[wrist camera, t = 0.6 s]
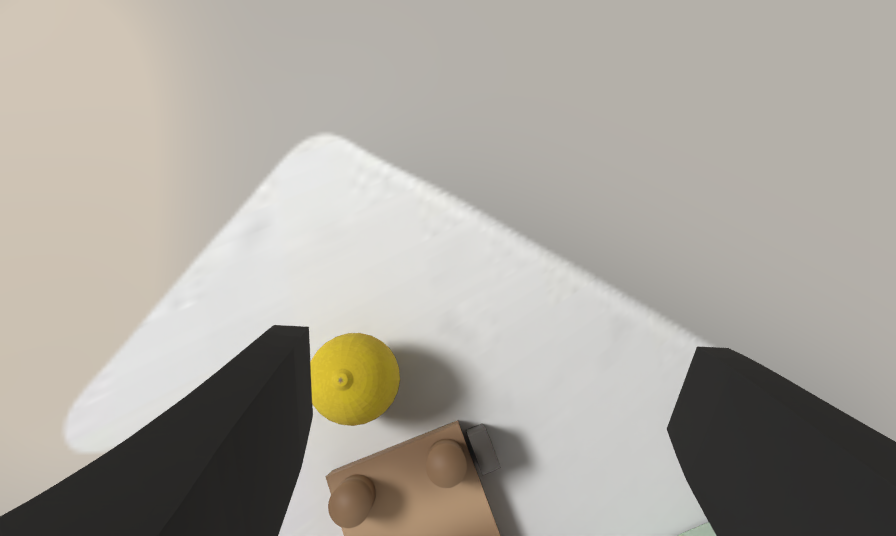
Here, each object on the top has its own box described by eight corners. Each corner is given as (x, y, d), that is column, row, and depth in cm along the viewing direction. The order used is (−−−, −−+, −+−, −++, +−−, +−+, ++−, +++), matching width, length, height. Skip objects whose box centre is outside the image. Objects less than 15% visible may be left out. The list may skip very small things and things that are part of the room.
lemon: (325, 338, 35) (290, 329, 27) (404, 336, 35) (392, 326, 27) (324, 419, 34) (287, 435, 26) (405, 417, 34) (393, 432, 26)
